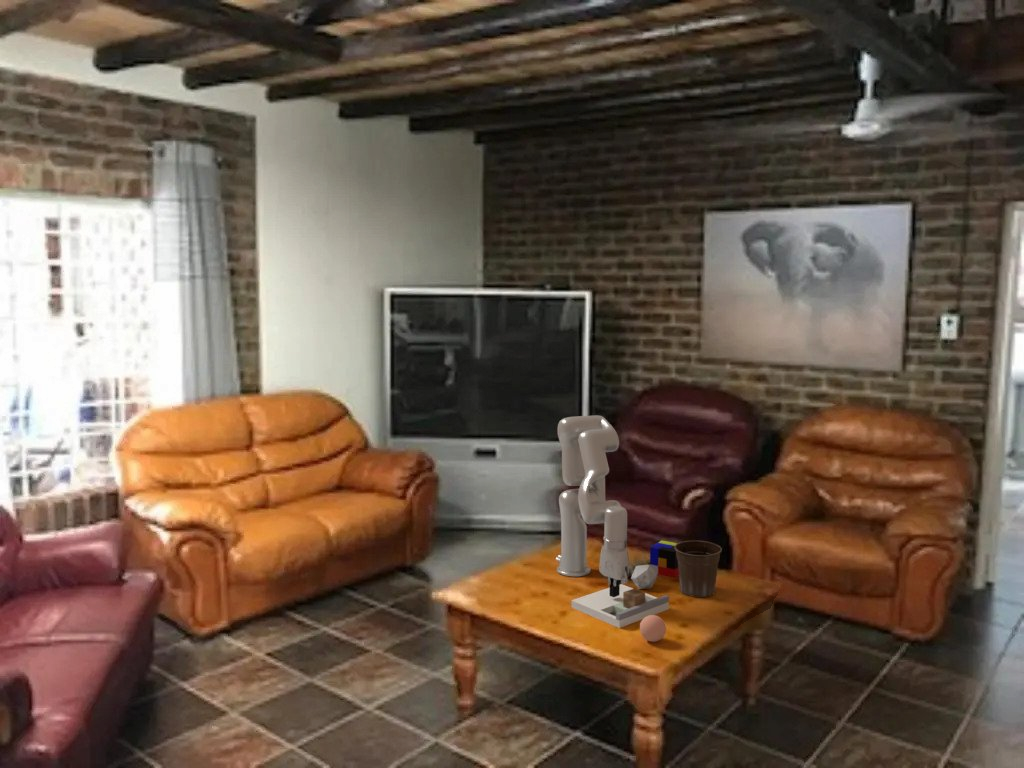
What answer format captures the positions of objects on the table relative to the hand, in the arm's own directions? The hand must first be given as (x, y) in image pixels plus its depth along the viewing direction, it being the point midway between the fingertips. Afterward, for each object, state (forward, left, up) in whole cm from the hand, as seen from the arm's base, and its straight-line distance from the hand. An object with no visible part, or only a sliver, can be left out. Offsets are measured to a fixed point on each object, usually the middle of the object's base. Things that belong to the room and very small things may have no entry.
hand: (614, 595), depth 288 cm
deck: (+3, 0, -4) cm, 5 cm away
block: (+9, 0, -1) cm, 9 cm away
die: (-5, +21, -4) cm, 22 cm away
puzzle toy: (-10, +40, -4) cm, 41 cm away
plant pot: (+10, +32, -4) cm, 34 cm away
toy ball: (+27, -11, -4) cm, 29 cm away
